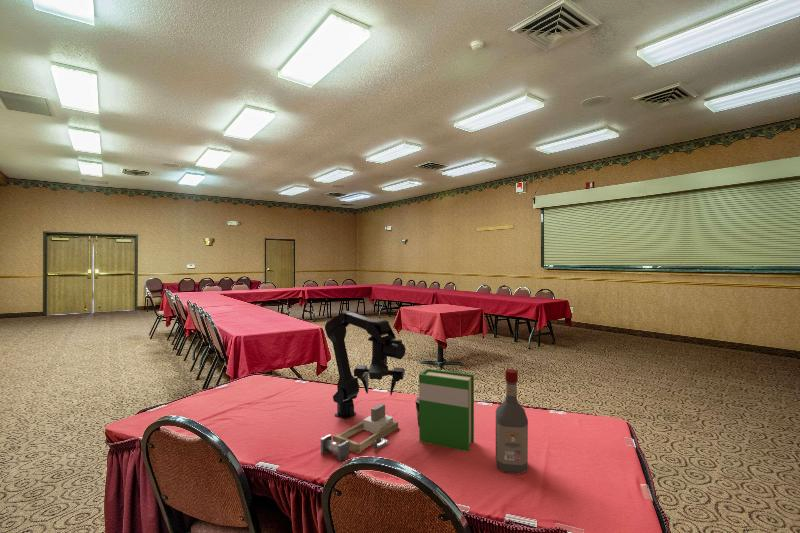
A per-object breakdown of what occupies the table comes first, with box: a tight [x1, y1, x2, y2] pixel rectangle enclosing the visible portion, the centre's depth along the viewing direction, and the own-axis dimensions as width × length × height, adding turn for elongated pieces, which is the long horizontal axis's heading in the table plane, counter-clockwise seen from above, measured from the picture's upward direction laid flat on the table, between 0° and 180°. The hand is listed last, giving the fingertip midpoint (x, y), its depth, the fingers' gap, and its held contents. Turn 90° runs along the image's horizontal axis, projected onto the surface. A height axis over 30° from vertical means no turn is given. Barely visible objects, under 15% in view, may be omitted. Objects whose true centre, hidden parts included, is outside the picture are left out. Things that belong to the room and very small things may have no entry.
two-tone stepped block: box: [362, 403, 394, 434], centre depth 148 cm, size 8×8×8 cm
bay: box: [332, 420, 399, 454], centre depth 143 cm, size 11×23×3 cm, turn 144°
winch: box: [320, 433, 350, 462], centre depth 129 cm, size 9×4×5 cm, turn 54°
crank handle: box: [372, 437, 389, 451], centre depth 136 cm, size 6×4×3 cm
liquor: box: [495, 368, 529, 474], centre depth 122 cm, size 9×9×30 cm
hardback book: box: [418, 368, 475, 453], centre depth 137 cm, size 18×7×24 cm, turn 65°
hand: (379, 394), depth 148 cm, fingers open, 9 cm apart
